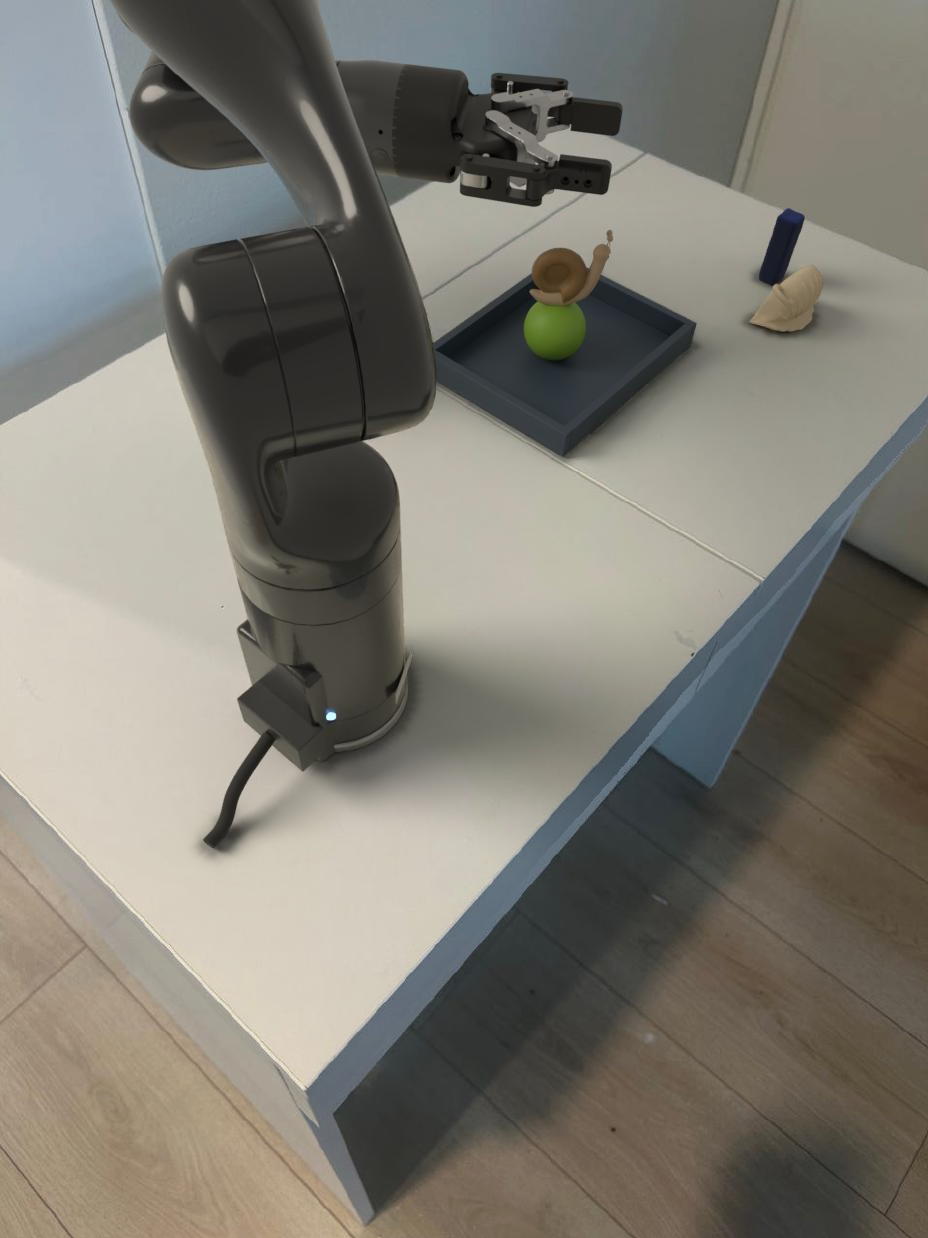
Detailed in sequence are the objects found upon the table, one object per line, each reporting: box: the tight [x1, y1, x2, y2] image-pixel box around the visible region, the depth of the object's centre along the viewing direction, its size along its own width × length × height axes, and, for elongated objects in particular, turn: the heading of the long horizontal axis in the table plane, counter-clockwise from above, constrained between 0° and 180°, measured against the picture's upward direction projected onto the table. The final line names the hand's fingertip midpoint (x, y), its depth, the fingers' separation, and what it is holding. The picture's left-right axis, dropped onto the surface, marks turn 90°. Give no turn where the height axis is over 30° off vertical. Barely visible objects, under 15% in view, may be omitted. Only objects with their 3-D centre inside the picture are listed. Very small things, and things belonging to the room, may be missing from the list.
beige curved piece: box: [748, 264, 824, 333], centre depth 87 cm, size 4×8×5 cm, turn 132°
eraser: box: [758, 207, 806, 287], centre depth 91 cm, size 2×2×7 cm
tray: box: [433, 266, 698, 458], centre depth 84 cm, size 20×16×2 cm
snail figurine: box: [524, 229, 614, 361], centre depth 80 cm, size 5×6×12 cm
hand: (615, 147), depth 69 cm, fingers open, 8 cm apart
